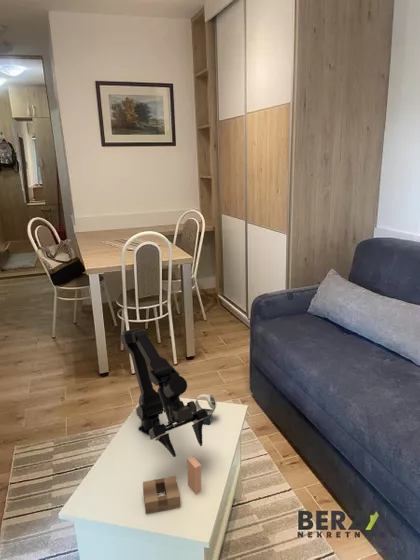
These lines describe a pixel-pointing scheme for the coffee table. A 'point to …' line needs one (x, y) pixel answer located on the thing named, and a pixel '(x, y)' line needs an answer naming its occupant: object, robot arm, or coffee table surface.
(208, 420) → the watch
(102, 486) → the coffee table surface
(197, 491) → the rectangular block
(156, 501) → the slot box
